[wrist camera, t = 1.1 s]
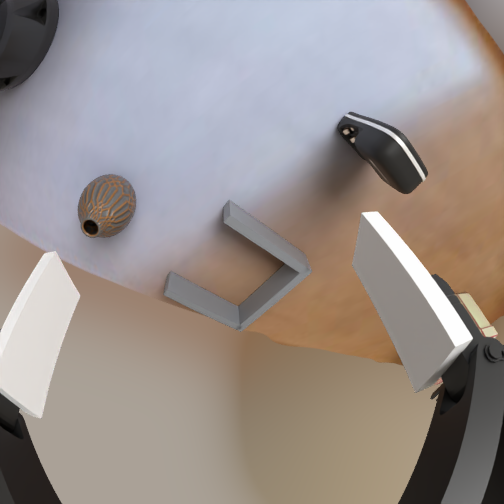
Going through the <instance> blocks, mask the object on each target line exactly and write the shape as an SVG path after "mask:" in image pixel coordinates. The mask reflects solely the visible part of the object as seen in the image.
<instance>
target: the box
mask: <svg viewBox="0 0 504 504" xmlns="http://www.w3.org/2000/svg"><path fill="white" fill-rule="evenodd" d="M223 210H224V223H225V224H227V225H228V226H230V227H231V228H233V229H234V230H236V231H237V232H239V233H240V234H242V235H243V236H245V237H246V238H248V239H249V240H251V241H252V242H254V243H255V244H257V245H258V246H260V247H262V248H263V249H265V250H266V251H268V252H269V253H271V254H272V255H274V256H275V257H277V258H278V259H280V260H281V261H283V262H284V263H285V264H284V265H283V266H282V267H281V268H280V269H279V270H278V271H276V272H275V273H274V274H273V275H272V276H271V277H270V278H269V279H268V280H267V281H266V282H265V283H263V284H262V285H261V286H260V287H259V288H258V289H257V290H256V291H255V292H254V293H253V294H251V295H250V296H249V297H248V298H247V299H246V300H245V301H244V302H243V303H241V304H240V305H239V306H236V305H234V304H232V303H230V302H228V301H227V300H225V299H223V298H221V297H219V296H217V295H215V294H213V293H211V292H209V291H207V290H205V289H203V288H202V287H200V286H198V285H196V284H194V283H192V282H190V281H188V280H187V279H185V278H183V277H181V276H179V275H177V274H176V273H174V272H172V271H171V272H170V273H169V274H168V276H167V279H166V284H165V289H164V294H163V295H165V296H167V297H169V298H171V299H173V300H175V301H177V302H179V303H181V304H183V305H185V306H187V307H189V308H191V309H193V310H195V311H197V312H199V313H201V314H203V315H205V316H207V317H210V318H212V319H214V320H216V321H218V322H220V323H223V324H225V325H227V326H229V327H231V328H234V329H236V330H239V331H240V332H241V331H243V330H244V329H245V328H246V327H247V326H249V325H250V324H251V323H252V322H254V321H255V320H256V319H257V318H258V317H260V316H261V315H262V314H263V313H265V312H266V311H267V310H268V309H269V308H271V307H272V306H273V305H274V304H275V303H276V302H278V301H279V300H280V299H281V298H282V297H284V296H285V295H286V294H287V293H288V292H289V291H291V290H292V289H293V288H294V287H295V286H296V285H297V284H299V283H300V282H301V281H302V280H303V279H304V278H305V277H307V276H308V275H309V274H310V273H311V272H312V270H311V267H310V265H309V262H308V260H307V257H306V255H305V254H304V253H303V252H302V251H300V250H299V249H298V248H296V247H295V246H293V245H292V244H291V243H289V242H288V241H287V240H285V239H284V238H282V237H281V236H280V235H278V234H277V233H275V232H274V231H273V230H271V229H270V228H268V227H267V226H266V225H264V224H263V223H261V222H260V221H259V220H257V219H256V218H254V217H253V216H252V215H250V214H249V213H247V212H246V211H244V210H243V209H242V208H240V207H239V206H237V205H236V204H234V203H233V202H232V201H230V200H229V201H228V202H227V203H226V205H225V206H224V207H223Z"/></svg>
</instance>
